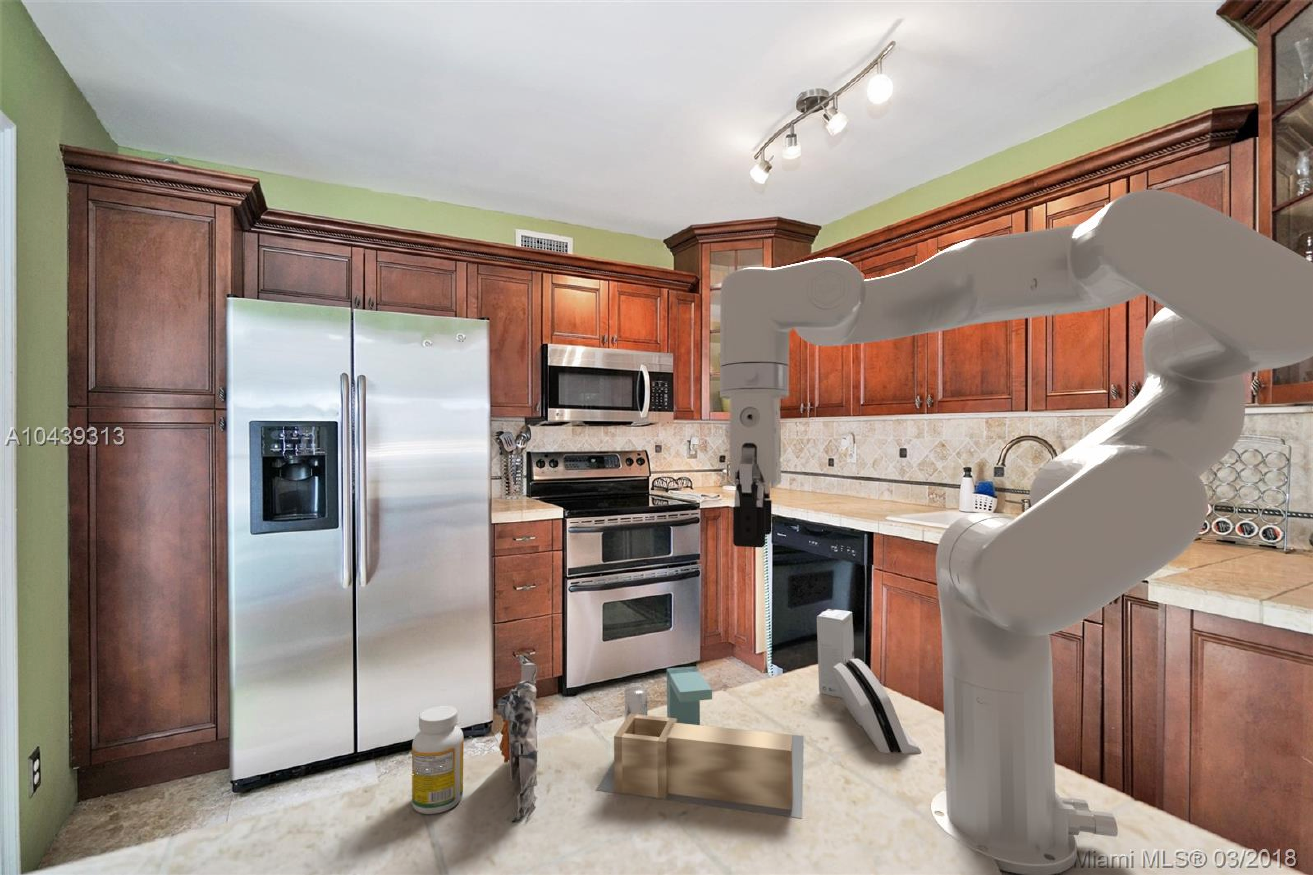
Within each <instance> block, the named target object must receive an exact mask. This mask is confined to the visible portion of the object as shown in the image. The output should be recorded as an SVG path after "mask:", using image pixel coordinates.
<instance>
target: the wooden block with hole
mask: <svg viewBox="0 0 1313 875" xmlns="http://www.w3.org/2000/svg"><path fill="white" fill-rule="evenodd" d="M792 735H793V734H789V735H788V734H787V733H780V734H779V733H778V732H770V733H769V731H761V732H759V730H751V731H750V729H741V730H740V729H739V728H732V729H730V728H729V727H722V728H721V727H720V726H712V727H711V725H710V726H709V725H703V726H702V725H701V724H700V725H692V724H682V723H677V719H676V718H667V716H666V717H665V716H664V717H663V716H654V715H648V714H647V715H637V714H629V715H628V717H627V718H626V719H625V718H624V721H623V723H622V724H621V725H620V727H619V728H618V730H617V731H616V733H615V734H614V736H613V762H614V792H619V793H626V794H633V795H640V796H648V797H655V798H662V799H666V798H667V796H668V793H670V794H677V795H685V796H692V797H700V798H707V799H715V800H722V801H729V802H737V803H744V804H752V805H759V806H767V807H774V808H782V809H789V810H792V804H793V754H792ZM626 794H625V795H626ZM633 795H632V796H633ZM640 796H639V797H640ZM648 797H647V798H648ZM655 798H654V799H655ZM662 799H661V800H662Z"/></svg>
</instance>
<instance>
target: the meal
mask: <svg viewBox="0 0 1313 875" xmlns="http://www.w3.org/2000/svg"><path fill="white" fill-rule="evenodd" d="M517 658H518V662H519V664H520V665H521V671H520V672H521V674H520V681H519V682H517V683H516V687H515V688H512V689H511V690H509V691H508V693H507V694H505V695H503V696H502V697H500V698H498V700H496V701H495V705H494V707H495V709H496V713H497V715H498V716H500V717H501V718H502V722H503V723H504V724H503V726H502V728H501V730H500V735H502V736H501V740H500V743H499V745H498V747H499V750H500V751H501V753H500V754H501V756H503V757H504V759H503V761H504V762H503V763H504V764H505V763H508V762H509V772H510V781H511V782H514V780H515V778H516V774H517V771H518V770H519V777H520V778H519V780H520V793H519V794H517V795H516V799H517V812H516V813H517V815H516V816H515V817H514V818H513V819H512V820H511V821H510V822H511V823H517V821H518V820H519V819H521V818H524V817H525V815H526V812H528V814H527V817H526V820H525V821H527V820H528V819H529V818H530V816H531V815H532V814H533V813H534V811H535V810H536V808H537V807H536V805H535V803H536V801H537V799H538V797H537V796H536V794H535V787H537V786H538V779H537V778H538V777H537V768H538V764H537V763H538V752H539V750H538V740H537V738H538V737H537V723H538V716H539V712H538V710H537V708H536V702H537V697H536V696H537V688H536V687H537V686H536V684H537V680H536V679H537V671H538V664H535V663H533V660H532V659H530V658H529V657H527V656H525V655H520V654H517Z"/></svg>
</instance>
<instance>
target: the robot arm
mask: <svg viewBox="0 0 1313 875" xmlns="http://www.w3.org/2000/svg"><path fill="white" fill-rule="evenodd" d="M1141 295H1145V296H1147V297H1149V298H1150V299H1152V300H1153V301H1155V303H1157V304H1159V305H1161V306H1162V307H1163V308H1161V309H1160V310H1159V311H1158V312H1157V313H1156V314H1155V315H1154V316H1153V317H1152V319H1151V320H1150V322H1149V324H1148V325H1147V327H1146V329H1145V331H1144V334H1143V338H1142V339H1143V340H1142V359H1143V364H1144V377H1143V382H1142V386H1141V388H1140V391H1139V393H1138V394H1137V396H1136V397H1135V398H1134V399H1133V400H1132V401H1131V402H1130V403H1128V405H1126V406H1125V407H1124V408H1123V409H1121V410H1120V411H1119V412H1118V413H1117V414H1115V415H1114V416H1113V417H1112V418H1110V419H1109V420H1108V421H1106V422H1105V423H1103V424H1102V425H1101V426H1099V427H1098V428H1096V429H1095V430H1094V431H1093V432H1090V433H1089V434H1087V435H1086V436H1085V437H1084V438H1083V439H1081V440H1079V441H1078V442H1077V443H1075V444H1074V445H1072V446H1071V447H1069V448H1068V449H1065V451H1063V452H1061V453H1060V454H1059V455H1057V456H1056V457H1054V458H1052V459H1051V460H1050V461H1049V462H1047V463H1046V464H1045V465H1044V466H1042V468H1041V469H1040V470H1039V471H1038V472H1037V473H1036V475H1035V477H1034V479H1033V481H1032V483H1031V485H1030V489H1029V502H1030V506H1031V507H1029V508H1028V509H1026V510H1025V511H1024V512H1022V513H1021V514H1019V515H1018V516H1016V517H1013V516H1010V515H1007V514H1002V513H997V512H976V513H975V512H974V513H971V514H968V515H965V516H963V517H960V518H959V519H957V520H955V521H953V523H951V524H950V526H948V528H947V529H945V531H944V533H943V534H942V536H940V539H939V542H938V545H937V549H936V552H935V553H936V554H935V576H936V578H935V579H936V585H937V594H938V601H939V609H940V611H939V612H940V619H941V620H940V621H941V623H940V624H941V638H942V639H941V640H942V641H941V642H942V679H943V682H942V684H943V685H942V686H943V687H942V688H943V726H944V727H943V729H944V732H943V733H944V764H945V766H944V767H945V768H944V769H945V770H944V771H945V773H944V774H945V775H944V776H945V790H942V791H940V792H939V793H937V794H936V795H935V796H934V797H933V798H932V799H931V801H930V805H929V806H930V813H931V816H932V818H933V819H934V821H935V822H936V823H937V825H938V826H939V827H940V828H941V829H942V831H944V832H945V833H946V834H948V835H949V836H950V837H952V838H953V839H954V840H956V841H957V842H959V843H961V844H962V845H964V846H966V847H967V848H970V849H972V850H973V851H976V852H979V853H980V854H983V855H985V856H988V857H991V858H993V859H994V861H995V863H996V866H997V867H998V869H999V870H1001V871H1004V872H1007V873H1013V874H1017V875H1055V874H1056V875H1057V874H1060V873H1063V872H1065V871H1067V870H1069V869H1070V868H1072V867H1073V866H1074V864H1075V862H1076V860H1077V859H1078V844H1077V840H1076V837H1075V836H1079V835H1080V832H1082V833H1089V834H1090V833H1091V834H1093V835H1099V836H1107V837H1114V838H1116V837H1118V833H1119V832H1118V831H1119V830H1118V825H1117V821H1116V818H1115V816H1114V815H1113V814H1112V813H1111V812H1107V811H1098V810H1091V809H1090V808H1089V804H1088V802H1087V800H1086V799H1082V798H1073V797H1069V798H1067V797H1060V795H1059V794H1058V793H1057V792H1056V773H1055V772H1056V770H1055V768H1056V767H1055V736H1054V735H1055V734H1054V732H1055V731H1054V704H1053V703H1054V702H1053V701H1054V700H1053V696H1054V695H1053V685H1054V681H1053V680H1054V678H1053V677H1054V676H1053V675H1054V674H1053V673H1054V672H1053V671H1054V670H1053V656H1052V655H1053V654H1052V647H1051V646H1052V645H1051V639H1050V635H1051V634H1055V633H1058V632H1061V631H1063V630H1066V629H1068V628H1070V627H1072V626H1075V625H1076V624H1079V623H1080V622H1082V621H1083V620H1085V619H1086V618H1089V616H1092V615H1093V614H1095V613H1096V612H1098V611H1099V610H1101V609H1102V608H1104V607H1105V606H1107V605H1108V604H1110V603H1111V602H1113V601H1115V600H1116V599H1117V598H1119V597H1120V596H1122V595H1124V594H1126V592H1128V591H1130V590H1132V589H1133V588H1134V587H1136V586H1137V585H1138V584H1140V583H1142V582H1143V581H1144V580H1146V579H1148V578H1149V577H1151V576H1152V575H1154V574H1155V573H1157V572H1158V571H1160V570H1161V569H1163V568H1164V567H1165V566H1167V565H1168V564H1170V563H1171V562H1172V561H1174V560H1175V559H1177V558H1178V557H1179V556H1180V555H1182V554H1184V552H1185V551H1186V550H1187V549H1188V548H1189V547H1190V546H1191V545H1192V544H1193V543H1194V541H1195V540H1196V538H1197V537H1198V535H1199V534H1200V533H1201V531H1202V529H1203V527H1204V524H1205V521H1206V518H1207V514H1208V510H1209V507H1208V506H1209V500H1208V495H1207V490H1206V486H1205V485H1204V483H1203V480H1202V478H1201V476H1202V475H1203V474H1205V473H1206V472H1208V471H1209V470H1210V469H1212V468H1213V467H1214V466H1216V465H1217V464H1218V463H1219V462H1220V461H1222V459H1223V458H1225V457H1226V456H1227V455H1228V454H1229V453H1230V452H1231V451H1232V449H1233V448H1234V447H1235V445H1236V444H1237V442H1238V441H1239V439H1240V437H1241V435H1242V432H1243V430H1244V429H1243V428H1244V425H1245V424H1244V423H1245V416H1246V387H1245V380H1244V379H1245V378H1244V375H1245V374H1250V373H1255V372H1256V373H1257V372H1260V371H1262V372H1263V371H1267V370H1273V369H1279V368H1283V367H1288V366H1292V365H1295V364H1298V363H1300V362H1304V361H1306V360H1308V359H1310V358H1313V262H1312V261H1311V260H1309V259H1307V258H1305V257H1304V256H1303V255H1300V254H1299V253H1297V252H1295V251H1293V250H1292V249H1289V248H1288V247H1286V246H1284V245H1282V244H1280V243H1278V242H1276V241H1275V240H1273V239H1271V238H1270V237H1268V236H1266V235H1265V234H1262V233H1260V232H1258V231H1257V230H1255V229H1254V228H1252V227H1249V226H1248V225H1246V224H1244V223H1243V222H1241V221H1239V220H1236V219H1235V218H1233V217H1231V216H1229V215H1227V214H1225V213H1223V212H1222V211H1220V210H1217V209H1215V208H1214V207H1211V206H1209V205H1207V204H1204V203H1202V202H1200V201H1198V200H1195V199H1193V198H1190V197H1187V196H1185V195H1181V194H1179V193H1175V192H1171V191H1166V190H1160V189H1141V190H1136V191H1132V192H1128V193H1125V194H1123V195H1121V196H1118V197H1117V198H1115V199H1114V200H1112V201H1111V202H1109V203H1108V204H1107V205H1105V206H1104V207H1103V208H1101V209H1100V210H1099V211H1098V212H1096V213H1095V214H1094V215H1093V216H1092V217H1090V218H1089V219H1088V220H1086V221H1084V222H1081V223H1077V224H1070V225H1065V226H1064V225H1063V226H1058V227H1051V228H1045V229H1044V228H1043V229H1038V230H1031V231H1024V232H1015V233H1011V234H1010V233H1009V234H1001V235H994V236H987V237H979V238H973V239H968V240H965V241H962V242H959V243H957V244H954V245H952V246H949V247H948V248H946V249H944V250H942V251H940V252H939V253H937V254H935V255H934V256H932V257H930V258H928V259H927V260H925V261H923V262H922V263H920V264H917V265H915V266H913V267H909V268H908V269H905V270H902V271H899V272H896V273H891V274H889V275H885V276H881V277H875V278H871V279H870V278H869V279H864V276H863V274H862V273H861V271H860V270H859V269H858V268H857V267H856V265H854V264H852V263H851V262H850V261H847V260H844V259H841V258H837V257H825V258H824V257H823V258H817V259H813V260H812V259H811V260H807V261H804V262H799V263H794V264H790V265H786V266H781V267H774V268H770V267H758V266H757V267H755V266H754V267H746V268H742V269H737V270H734V271H732V272H730V273H728V274H727V275H726V276H724V278H723V280H722V282H721V286H720V314H719V315H720V316H719V317H720V322H719V323H720V326H719V327H720V333H719V334H720V338H719V339H720V341H719V343H720V345H719V346H720V354H719V356H720V357H719V361H720V362H719V365H720V366H719V370H720V371H719V375H720V376H719V377H720V379H719V384H720V385H719V398H721V399H725V400H729V432H728V433H729V438H728V439H729V448H728V449H729V475H730V476H729V478H730V483H731V484H732V485H733V486H734V487H735V491H734V492H735V493H734V506H732V507H733V508H732V514H733V515H732V522H733V524H732V525H733V526H732V535H733V536H732V543H733V545H734V546H735V547H740V548H741V547H742V548H747V547H748V548H764V547H765V545H766V535H771V533H772V515H773V514H772V513H773V511H772V508H773V507H772V502H773V501H772V499H771V488H772V489H773V488H774V489H775V488H777V486H778V485H780V484H781V482H782V453H781V452H782V449H781V448H782V447H781V446H782V444H781V442H782V437H781V436H782V434H781V431H782V429H781V428H782V426H781V409H780V408H781V407H780V400H781V399H787V398H789V397H790V332H791V331H792V330H793V329H794V331H795V332H796V334H797V335H798V336H799V337H800V338H801V339H802V340H803V341H805V342H807V343H809V344H812V345H814V346H820V347H835V346H836V347H837V346H846V345H855V344H857V345H858V344H866V343H874V342H882V341H888V340H894V339H901V338H905V337H910V336H916V335H917V336H918V335H922V334H928V333H935V332H944V331H948V330H949V331H950V330H953V329H957V328H961V327H965V326H966V327H967V326H972V325H973V326H974V325H980V324H986V323H996V322H1003V321H1004V322H1006V321H1014V320H1022V319H1024V320H1025V319H1029V318H1030V319H1032V318H1041V317H1048V316H1059V315H1068V314H1069V315H1070V314H1076V313H1083V312H1084V313H1085V312H1086V313H1087V312H1092V311H1097V310H1103V309H1108V308H1112V307H1116V306H1118V305H1121V304H1124V303H1126V302H1129V301H1130V300H1133V299H1136V298H1138V297H1139V296H1141ZM936 812H939V813H942V814H943V815H941V816H940V815H938V814H936ZM979 846H983V847H984V848H986V849H987V850H982V849H979V848H978V847H979Z"/></svg>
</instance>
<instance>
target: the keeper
mask: <svg viewBox="0 0 1313 875" xmlns="http://www.w3.org/2000/svg"><path fill="white" fill-rule="evenodd" d="M708 700H710V701H711V700H713V689H712V687H711V685H710V684H709V683H708V682H707V680H706V679H705V677H704V675H702V674H701V672H700V671H699V669H698V668H697V667H696V665H695V666H684V667H672V668H666V714H667V715H666V718H676V719H677V723H682V724H692V725H701V709H700V708H701V704H700V702H701V701H708Z"/></svg>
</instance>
